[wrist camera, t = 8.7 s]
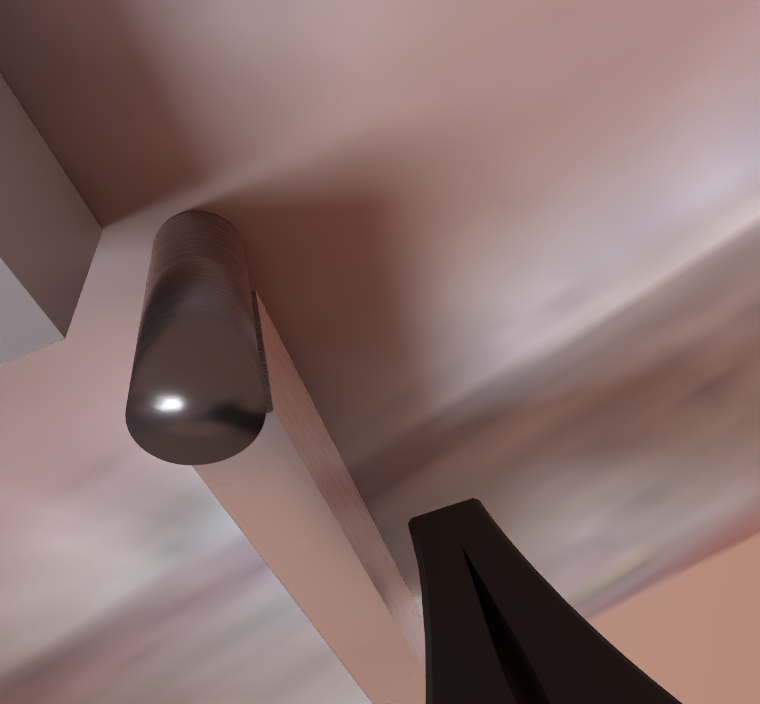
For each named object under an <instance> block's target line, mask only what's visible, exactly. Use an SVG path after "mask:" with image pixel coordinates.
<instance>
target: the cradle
mask: <svg viewBox="0 0 760 704" xmlns="http://www.w3.org/2000/svg"><path fill="white" fill-rule="evenodd" d="M102 230H103V229H102V228H101V226H100V225H99V223H98V222H97V220H96V219H95V217H94V216H93V214H92V213H91V211H90V209H89V208H88V206H87V205H86V203H85V202H84V200H83V199H82V197H81V196H80V194H79V193H78V191H77V190H76V188H75V187H74V185H73V183H72V182H71V180H70V179H69V177H68V176H67V174H66V173H65V171H64V170H63V168H62V167H61V165H60V164H59V162H58V161H57V159H56V157H55V156H54V154H53V153H52V151H51V150H50V148H49V147H48V145H47V144H46V142H45V141H44V139H43V138H42V136H41V135H40V133H39V131H38V130H37V128H36V127H35V125H34V124H33V122H32V121H31V119H30V118H29V116H28V115H27V113H26V112H25V110H24V109H23V107H22V105H21V104H20V102H19V101H18V99H17V98H16V96H15V95H14V93H13V92H12V90H11V89H10V87H9V86H8V84H7V83H6V81H5V79H4V78H3V76H2V75H1V73H0V364H1V363H4V362H6V361H9V360H12V359H14V358H17V357H19V356H22V355H24V354H27V353H29V352H32V351H34V350H37V349H39V348H42V347H45V346H47V345H50V344H52V343H55V342H57V341H60V340H62V339H65V337H66V334H67V331H68V328H69V325H70V323H71V320H72V317H73V314H74V311H75V308H76V305H77V302H78V300H79V297H80V294H81V291H82V288H83V285H84V282H85V279H86V276H87V274H88V271H89V268H90V265H91V262H92V259H93V256H94V253H95V251H96V248H97V245H98V242H99V239H100V236H101V233H102Z"/></svg>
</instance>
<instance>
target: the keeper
mask: <svg viewBox="0 0 760 704" xmlns="http://www.w3.org/2000/svg"><path fill="white" fill-rule="evenodd" d="M125 416H126V424H127V427H128V430H129V432H130V434H131V436H132V437H133V439H134V440H135V442H136V443H137V444H138V445H139V446H140V447H141V448H143V449H144V450H145V451H146V452H148V453H150V454H151V455H153V456H155V457H157V458H159V459H161V460H164V461H167V462H171V463H175V464H182V465H192V466H193V468H194V469H195V470H196V471H197V473H198V474H199V475H200V477H201V478H202V479H203V481H204V482H205V483H206V485H207V486H208V487H209V489H210V490H211V491H212V493H213V494H214V495H215V497H216V498H217V499H218V500H219V502H220V503H221V504H222V506H223V507H224V508H225V510H226V511H227V512H228V514H229V515H230V516H231V518H232V519H233V520H234V522H235V523H236V524H237V525H238V527H239V528H240V529H241V531H242V532H243V533H244V535H245V536H246V537H247V539H248V540H249V541H250V543H251V544H252V545H253V547H254V548H255V549H256V550H257V552H258V553H259V554H260V556H261V557H262V558H263V560H264V561H265V562H266V564H267V565H268V566H269V568H270V569H271V570H272V572H273V573H274V574H275V575H276V577H277V578H278V579H279V581H280V582H281V583H282V585H283V586H284V587H285V589H286V590H287V591H288V593H289V594H290V595H291V597H292V598H293V599H294V601H295V602H296V603H297V604H298V606H299V607H300V608H301V610H302V611H303V612H304V614H305V615H306V616H307V618H308V619H309V620H310V622H311V623H312V624H313V626H314V627H315V628H316V629H317V631H318V632H319V633H320V635H321V636H322V637H323V639H324V640H325V641H326V643H327V644H328V645H329V647H330V648H331V649H332V651H333V652H334V653H335V654H336V656H337V657H338V658H339V660H340V661H341V662H342V664H343V665H344V666H345V668H346V669H347V670H348V672H349V673H350V674H351V676H352V677H353V678H354V680H355V681H356V682H357V683H358V685H359V686H360V687H361V689H362V690H363V691H364V693H365V694H366V695H367V697H368V698H369V699H370V701H371V702H372V703H373V704H426V676H425V631H424V626H423V623H422V620H421V617H420V614H419V611H418V608H417V605H416V603H415V601H414V599H413V597H412V595H411V594H410V592H409V590H408V588H407V586H406V584H405V582H404V580H403V578H402V576H401V574H400V572H399V570H398V568H397V566H396V564H395V562H394V560H393V558H392V556H391V554H390V552H389V550H388V548H387V546H386V545H385V543H384V541H383V539H382V537H381V535H380V533H379V531H378V529H377V527H376V525H375V523H374V521H373V519H372V517H371V515H370V513H369V511H368V509H367V507H366V505H365V503H364V501H363V499H362V497H361V496H360V494H359V492H358V490H357V488H356V486H355V484H354V482H353V480H352V478H351V476H350V474H349V472H348V470H347V468H346V466H345V464H344V462H343V460H342V458H341V456H340V454H339V452H338V450H337V448H336V446H335V445H334V443H333V441H332V439H331V437H330V435H329V433H328V431H327V429H326V427H325V425H324V423H323V421H322V419H321V417H320V415H319V413H318V411H317V409H316V407H315V405H314V403H313V401H312V399H311V397H310V396H309V394H308V392H307V390H306V388H305V386H304V384H303V382H302V380H301V378H300V376H299V374H298V372H297V370H296V368H295V366H294V364H293V362H292V360H291V358H290V356H289V354H288V352H287V350H286V348H285V347H284V345H283V343H282V341H281V339H280V337H279V335H278V333H277V331H276V329H275V327H274V325H273V323H272V321H271V319H270V317H269V315H268V313H267V311H266V309H265V307H264V305H263V303H262V301H261V299H260V298H259V296H258V294H257V292H256V291H253V292H251V291H250V284H249V276H248V268H247V261H246V253H245V246H244V243H243V240H242V238H241V236H240V234H239V233H238V231H237V230H236V229H235V228H234V227H233V226H232V225H231V224H230V223H229V222H228V221H226V220H225V219H223V218H221V217H219V216H217V215H215V214H212V213H208V212H201V211H192V212H186V213H182V214H179V215H176V216H174V217H172V218H171V219H169V220H168V221H167V222H166V223H164V224H163V225H162V227H161V228H160V229H159V231H158V232H157V234H156V237H155V239H154V243H153V249H152V255H151V261H150V267H149V273H148V279H147V285H146V291H145V297H144V303H143V309H142V315H141V321H140V327H139V333H138V339H137V345H136V351H135V357H134V363H133V369H132V375H131V382H130V388H129V394H128V400H127V406H126V415H125Z"/></svg>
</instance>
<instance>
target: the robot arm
mask: <svg viewBox="0 0 760 704" xmlns="http://www.w3.org/2000/svg"><path fill="white" fill-rule="evenodd" d="M408 526H409V530H410V534H411V538H412V542H413V546H414V550H415V554H416V558H417V562H418V567H419V575H420V583H421V591H422V604H423V618H424V631H425V676H426V704H682V703H681V702H680V701H678V700H677V699H676V698H675V697H673V696H672V695H671V694H670V693H668V692H667V691H666V690H665V689H663V688H662V687H661V686H660V685H658V684H657V683H656V682H655V681H654V680H652V679H651V678H650V677H649V676H648V675H646V674H645V673H644V672H643V671H642V670H641V669H639V668H638V667H637V666H636V665H635V664H633V663H632V662H631V661H630V660H629V659H628V658H626V657H625V656H624V655H623V654H622V653H621V652H620V651H619V650H617V649H616V648H615V647H614V646H613V645H612V644H611V643H610V642H608V641H607V640H606V639H605V638H604V637H603V636H602V635H601V634H600V633H598V631H597V630H596V629H594V628H593V627H592V626H591V625H590V624H589V623H588V622H587V621H586V620H585V619H584V618H583V617H582V616H581V615H580V614H579V613H578V612H577V611H576V610H575V609H574V608H573V607H571V606H570V605H569V604H568V603H567V602H566V601H565V600H564V599H563V598H562V597H561V596H560V594H559V593H558V592H557V591H556V590H555V589H554V588H553V587H552V586H551V585H550V584H549V583H548V582H547V581H546V580H545V579H544V578H543V577H542V576H541V575H540V574H539V573H538V572H537V570H536V569H535V568H534V567H533V566H532V565H531V564H530V563H529V562H528V561H527V560H526V558H525V557H524V556H523V555H522V554H521V553H520V552H519V550H518V549H517V548H516V547H515V546H514V545H513V543H512V542H511V541H510V540H509V539H508V538H507V536H506V535H505V534H504V533H503V531H502V530H501V529H500V528H499V526H498V525H497V524H496V523H495V521H494V520H493V519H492V517H491V516H490V515H489V513H488V512H487V511H486V509H485V508H484V507H483V505H482V504H481V502H480V501H479V500H477V499H475V498H472V499H469V500H466V501H463V502H460V503H456V504H453V505H450V506H447V507H444V508H441V509H438V510H435V511H432V512H429V513H426V514H423V515H420V516H417V517H413V518H412V519H411V520H410V521H409V523H408Z"/></svg>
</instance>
